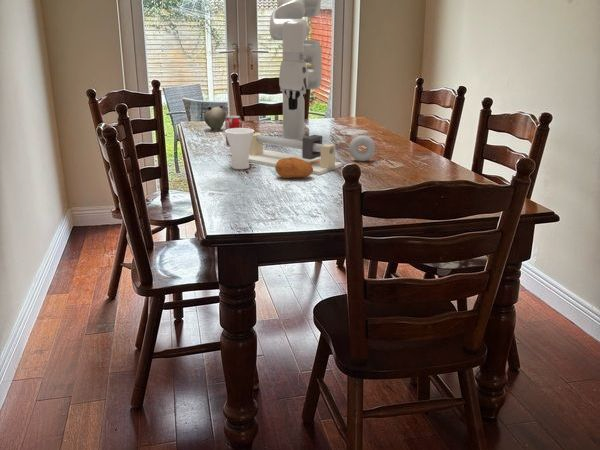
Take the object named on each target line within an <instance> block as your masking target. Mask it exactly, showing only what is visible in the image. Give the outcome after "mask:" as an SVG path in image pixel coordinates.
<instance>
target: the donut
mask: <svg viewBox="0 0 600 450" xmlns="http://www.w3.org/2000/svg"><path fill="white" fill-rule="evenodd" d="M361 145H364V146H365V147H366V150H365V151H363V152H362V151H360V150H359V146H361ZM348 149H349V153H350V156H351V157H352V158H353V160H356V161H358V162H366V161H369V160H371V158H373V156H374V155H375V153H376V143H375V141H374V139H372V138H371V137H369V136H368V135H363V134H362V135H361V134H360V135H357V136H355V137H353V139H352V140H350V143H349V147H348Z"/></svg>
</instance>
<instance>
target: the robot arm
mask: <svg viewBox="0 0 600 450" xmlns="http://www.w3.org/2000/svg"><path fill="white" fill-rule="evenodd" d="M276 4H277V7H276V8H275V9H274V10H273V11H272V12H271V15H270V17H269V18H270V20H269V35H270V37H271V39H272V40H274V41H282V60H281V62H280V67H279V78H278V84H279V91H280V92H282V134H281V135H280V136H279V137H278V138H285V139H291V140H298V141H303V138H304V137H308V136H307V135H306V133H309V132H310V129H309V128H308V127H307V128H305V105H306V104H305V97H304V96H303V95H306V94H307V90H316V89H317V90H318V89H320V87H321V84H322V78H323V77H322V76H323V75H322V74H323V73H322V67H323V66H322V63H323V62H322V59H323V58H322V57H323V53H322V45H321V43H320V42H319V41H318V40H316V39H307V38H308V37H309V35H310V29H311V28H310V24H309V23H308V21H307V19H304V18H316V17H317V16H319V14H320V11H321V4H322V0H277V3H276ZM308 64H310V66H309V65H308Z"/></svg>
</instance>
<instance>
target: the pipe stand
mask: <svg viewBox="0 0 600 450" xmlns="http://www.w3.org/2000/svg"><path fill="white" fill-rule="evenodd" d="M264 144H268V145H272V146H278V147H284V148H290V149H291V148H292V149H296V150H302V151H303V141H298V140H291V139H285V138H279V137H276V136H270V135H264V133H260V132H255V133H254V134H253V137H252V141H251V144H250V150H249V163H253V164H256V165H257V164H258V165H262V166H263V165H264V166H268V167H272V168H276V167H275V166H276V163H277V162H278V161H279V160H281V159H283V158H290V157H295V158H298V159H301V160H304V161H307V162H308V163H310V164H311V166H312V168H313V172H312V174H311V175H316V176H321V175H324V174H325V173H328V172H331V171H333V170H336V169H338V168H342V167H343V164H344V163H343V162H339V161H336V144H333V143H325V144H323V143H322V144H317V143H314V142H313V151H314V152H320V153H321V156H320V158H318V157H317V158H314V159H311V160H310V159H304V158H302V155H298V154H294V153H293V154H292V153H287V152H280V151H274V150H269V149H264Z"/></svg>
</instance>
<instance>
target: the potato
mask: <svg viewBox="0 0 600 450" xmlns="http://www.w3.org/2000/svg"><path fill="white" fill-rule="evenodd" d="M274 168H275V172H276V173H277V174H278V176H279V177H281V178H283V179H293V178H294V179H295V178H296V179H297V178H305V177H306V178H307V177H309V176H311V175H313V174H312V172H313V168H312V166H311V164H310V163H308V162H307V161H304V160H301V159H298V158H295V157H290V158H283V159H281V160H279V161H278V162H277V163H276V166H275V167H274Z"/></svg>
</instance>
